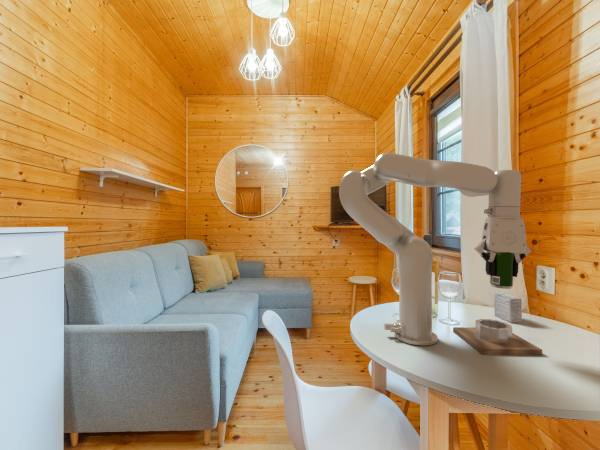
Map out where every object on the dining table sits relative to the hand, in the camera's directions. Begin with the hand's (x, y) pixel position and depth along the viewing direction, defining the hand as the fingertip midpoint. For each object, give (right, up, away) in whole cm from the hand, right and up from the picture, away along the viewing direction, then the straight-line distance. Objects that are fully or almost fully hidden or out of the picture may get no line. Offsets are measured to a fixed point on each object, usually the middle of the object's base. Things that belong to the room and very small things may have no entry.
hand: (501, 274), depth 83 cm
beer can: (0, -4, 0) cm, 4 cm away
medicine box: (+19, -21, +23) cm, 36 cm away
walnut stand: (0, -21, +3) cm, 21 cm away
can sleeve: (0, -19, +3) cm, 20 cm away
